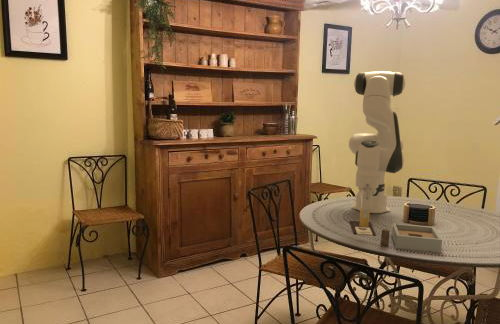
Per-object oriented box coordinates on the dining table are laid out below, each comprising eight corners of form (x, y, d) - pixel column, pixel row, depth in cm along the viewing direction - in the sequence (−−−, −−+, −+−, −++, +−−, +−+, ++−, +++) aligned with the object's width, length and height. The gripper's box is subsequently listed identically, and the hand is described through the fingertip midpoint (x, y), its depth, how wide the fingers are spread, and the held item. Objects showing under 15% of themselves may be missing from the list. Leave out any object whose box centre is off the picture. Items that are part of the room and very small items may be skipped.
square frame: (391, 234, 175) (392, 223, 174) (432, 238, 172) (433, 227, 171) (395, 248, 160) (396, 235, 159) (440, 252, 156) (442, 239, 155)
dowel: (359, 223, 171) (360, 199, 169) (368, 224, 170) (370, 200, 169) (359, 226, 168) (361, 202, 166) (368, 227, 167) (370, 203, 165)
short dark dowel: (380, 243, 164) (381, 228, 163) (388, 244, 164) (389, 229, 163) (380, 246, 162) (382, 231, 161) (388, 246, 161) (390, 231, 160)
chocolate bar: (369, 221, 191) (376, 234, 173) (369, 223, 191) (375, 236, 173) (349, 220, 192) (353, 233, 174) (349, 222, 192) (353, 235, 175)
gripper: (376, 188, 155) (374, 224, 158) (374, 177, 175) (371, 209, 177) (359, 187, 157) (356, 222, 159) (358, 176, 176) (356, 207, 179)
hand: (364, 215), depth 168 cm, fingers closed on dowel, 4 cm apart
